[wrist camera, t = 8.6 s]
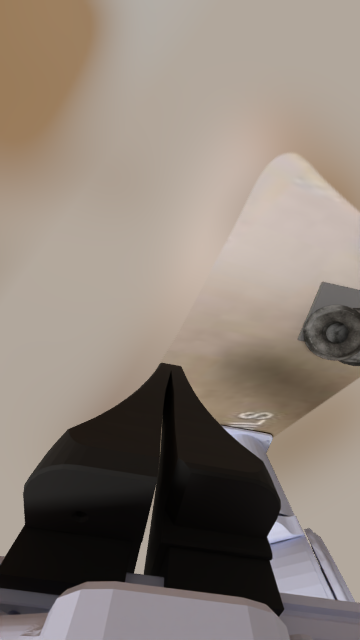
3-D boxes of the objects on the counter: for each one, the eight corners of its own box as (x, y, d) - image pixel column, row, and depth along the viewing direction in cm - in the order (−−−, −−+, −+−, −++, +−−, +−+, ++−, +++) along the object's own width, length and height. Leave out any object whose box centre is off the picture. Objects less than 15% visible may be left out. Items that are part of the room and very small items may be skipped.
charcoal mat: (350, 350, 21) (353, 351, 21) (297, 339, 21) (299, 340, 21) (380, 294, 19) (383, 295, 19) (321, 282, 19) (324, 282, 19)
